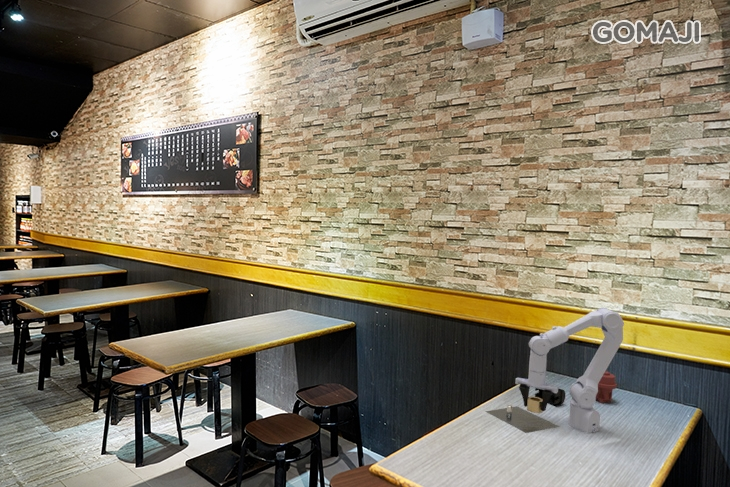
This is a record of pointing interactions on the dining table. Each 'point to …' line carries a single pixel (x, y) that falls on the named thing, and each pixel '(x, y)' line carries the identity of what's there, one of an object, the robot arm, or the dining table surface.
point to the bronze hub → (534, 404)
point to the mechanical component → (606, 387)
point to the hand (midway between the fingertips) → (534, 408)
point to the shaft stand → (522, 419)
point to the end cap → (553, 397)
